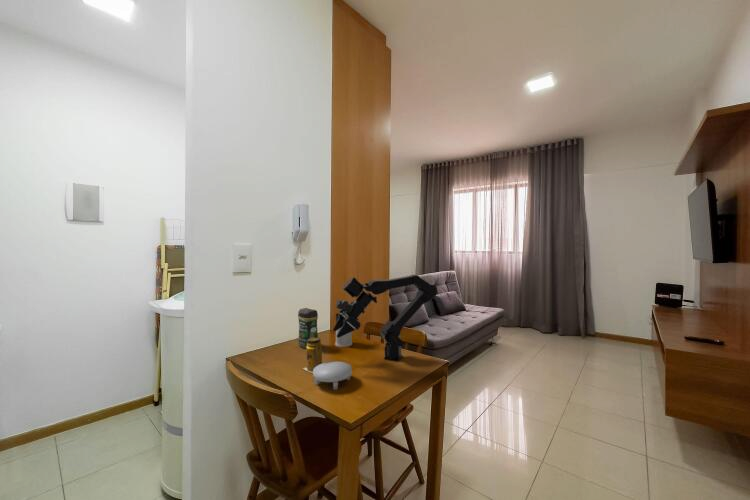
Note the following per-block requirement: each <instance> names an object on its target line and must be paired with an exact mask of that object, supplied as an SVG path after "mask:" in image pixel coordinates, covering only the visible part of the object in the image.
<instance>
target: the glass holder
mask: <svg viewBox="0 0 750 500" xmlns="http://www.w3.org/2000/svg"><path fill="white" fill-rule="evenodd" d="M338 318H339V315H338V312H337V313H335V324H336V323H337V321H338ZM341 328H342V327H341ZM341 328H340V329H341ZM340 329H338V330H337V331H335V343H334V346H336V347H339V348H342V347H343V348H346V347H351V346H352V345H353V341H352V332H350V333H347V334H345V335H343V336H341V337H339V338H338V337H337V334H338V333H339V331H340Z"/></svg>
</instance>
